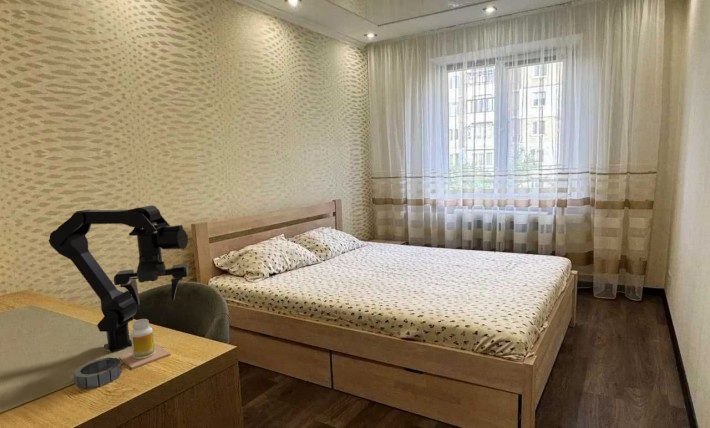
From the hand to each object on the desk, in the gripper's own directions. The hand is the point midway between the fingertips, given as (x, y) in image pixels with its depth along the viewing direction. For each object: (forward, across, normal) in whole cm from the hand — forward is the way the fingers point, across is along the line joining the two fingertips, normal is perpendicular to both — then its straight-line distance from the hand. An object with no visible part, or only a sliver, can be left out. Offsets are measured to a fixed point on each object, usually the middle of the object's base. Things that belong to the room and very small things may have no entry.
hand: (155, 302), depth 119 cm
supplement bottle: (+13, -3, -6) cm, 15 cm away
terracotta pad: (+13, -3, -6) cm, 15 cm away
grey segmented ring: (+13, -12, -15) cm, 23 cm away
